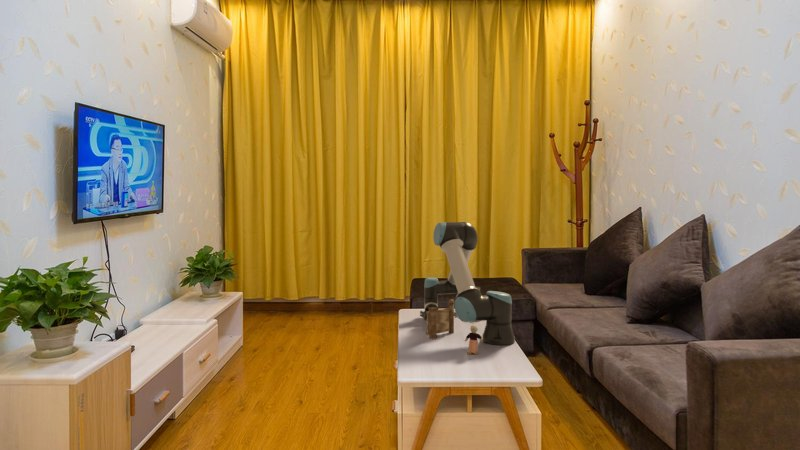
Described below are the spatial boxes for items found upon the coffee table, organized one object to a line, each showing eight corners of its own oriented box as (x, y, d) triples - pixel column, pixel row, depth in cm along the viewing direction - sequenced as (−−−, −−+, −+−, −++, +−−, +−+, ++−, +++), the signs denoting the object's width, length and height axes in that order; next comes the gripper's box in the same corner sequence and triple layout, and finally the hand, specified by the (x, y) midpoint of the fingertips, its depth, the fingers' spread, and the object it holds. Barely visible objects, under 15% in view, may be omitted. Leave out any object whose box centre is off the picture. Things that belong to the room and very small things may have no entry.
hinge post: (455, 333, 259) (455, 299, 258) (450, 334, 258) (450, 300, 256) (451, 331, 262) (452, 298, 260) (446, 332, 260) (447, 299, 259)
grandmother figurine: (465, 354, 225) (465, 326, 224) (464, 352, 229) (464, 323, 228) (483, 354, 225) (483, 326, 224) (481, 352, 229) (482, 323, 228)
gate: (447, 330, 259) (447, 307, 259) (449, 330, 258) (450, 308, 257) (426, 334, 252) (426, 311, 251) (428, 335, 250) (428, 312, 249)
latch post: (437, 338, 250) (437, 307, 249) (432, 339, 248) (432, 308, 247) (433, 337, 252) (433, 306, 251) (428, 338, 250) (428, 307, 249)
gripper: (444, 317, 278) (447, 329, 255) (419, 317, 278) (419, 329, 255) (444, 303, 277) (447, 314, 254) (419, 303, 278) (419, 314, 254)
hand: (433, 321), depth 254 cm, fingers closed
